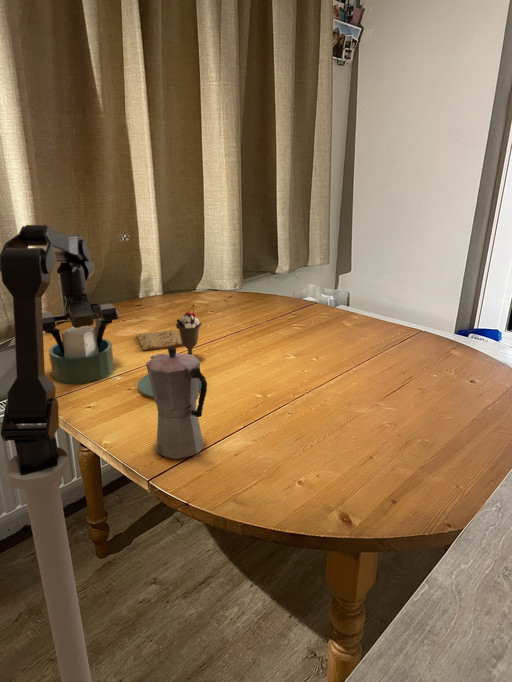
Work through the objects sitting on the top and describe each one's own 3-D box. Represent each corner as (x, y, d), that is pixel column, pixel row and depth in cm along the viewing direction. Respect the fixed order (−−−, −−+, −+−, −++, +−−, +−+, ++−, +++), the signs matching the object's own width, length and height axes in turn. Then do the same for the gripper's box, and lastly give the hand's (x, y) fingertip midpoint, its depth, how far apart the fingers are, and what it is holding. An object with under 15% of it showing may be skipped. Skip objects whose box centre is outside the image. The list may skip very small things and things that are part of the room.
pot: (59, 389, 116) (55, 363, 114) (48, 366, 128) (44, 342, 126) (121, 375, 123) (118, 351, 121) (105, 355, 135) (102, 332, 133)
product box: (87, 363, 121) (83, 334, 118) (64, 361, 122) (60, 332, 119) (99, 353, 126) (96, 326, 124) (77, 351, 127) (73, 324, 125)
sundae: (205, 355, 135) (203, 302, 130) (200, 366, 129) (198, 310, 124) (181, 354, 136) (178, 301, 130) (175, 364, 130) (172, 309, 124)
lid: (151, 408, 108) (149, 385, 106) (129, 380, 121) (127, 359, 119) (216, 391, 116) (215, 369, 113) (189, 367, 128) (188, 347, 126)
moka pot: (173, 423, 102) (168, 332, 95) (229, 451, 93) (228, 352, 86) (136, 443, 95) (127, 346, 88) (192, 475, 86) (187, 370, 79)
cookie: (186, 345, 142) (185, 342, 142) (143, 351, 138) (142, 347, 137) (176, 331, 152) (176, 328, 152) (136, 336, 148) (135, 333, 148)
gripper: (36, 302, 107) (46, 369, 112) (122, 291, 116) (128, 353, 121) (28, 290, 116) (38, 352, 121) (109, 280, 125) (115, 339, 130)
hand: (81, 349), depth 123 cm, fingers closed on product box, 8 cm apart
